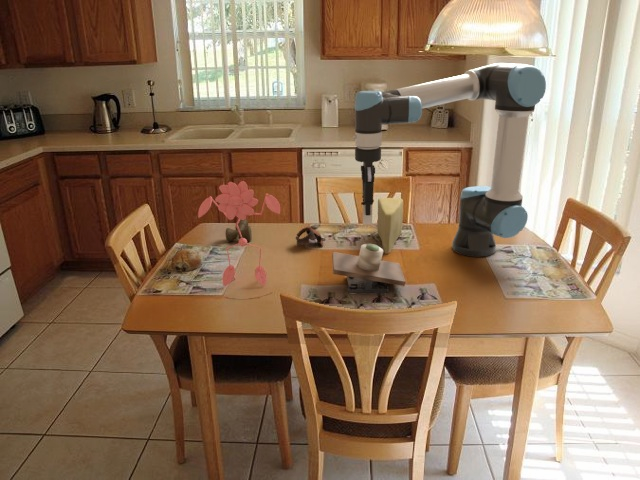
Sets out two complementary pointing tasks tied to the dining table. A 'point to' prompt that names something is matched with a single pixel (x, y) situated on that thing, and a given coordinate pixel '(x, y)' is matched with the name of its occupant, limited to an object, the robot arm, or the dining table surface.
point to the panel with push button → (368, 266)
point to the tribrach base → (366, 286)
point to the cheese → (389, 221)
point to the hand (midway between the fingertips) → (367, 224)
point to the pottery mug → (309, 236)
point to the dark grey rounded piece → (244, 231)
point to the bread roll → (186, 260)
